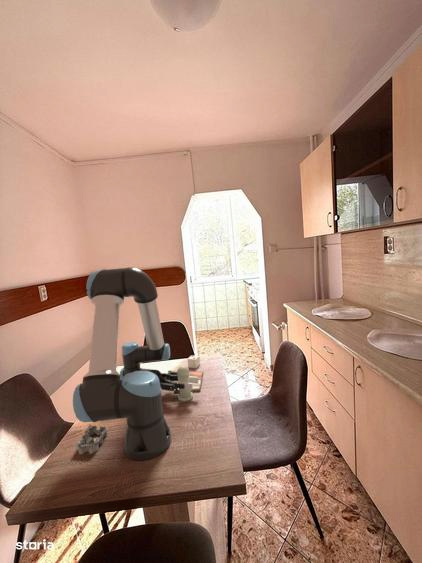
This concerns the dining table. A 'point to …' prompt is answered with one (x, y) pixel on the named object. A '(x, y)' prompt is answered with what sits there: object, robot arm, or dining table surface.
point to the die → (193, 361)
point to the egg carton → (91, 439)
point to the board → (195, 386)
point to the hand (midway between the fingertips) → (195, 383)
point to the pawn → (184, 377)
